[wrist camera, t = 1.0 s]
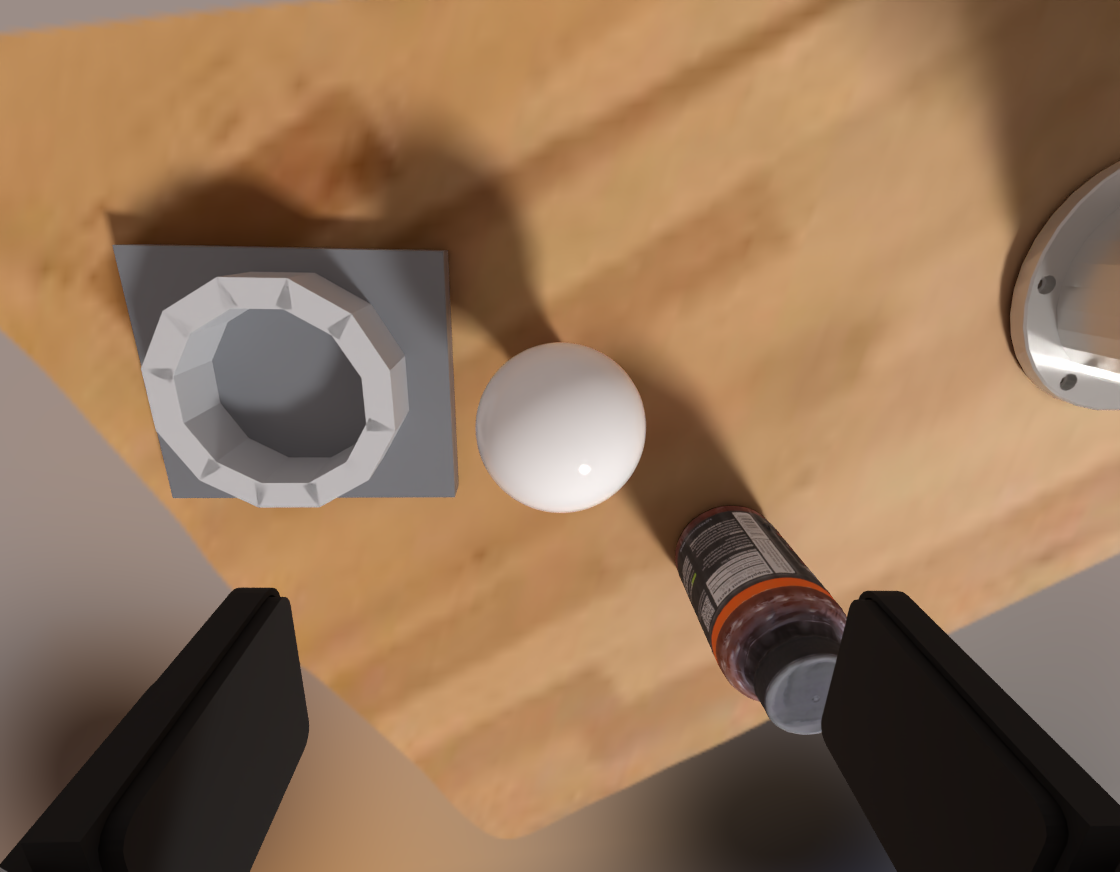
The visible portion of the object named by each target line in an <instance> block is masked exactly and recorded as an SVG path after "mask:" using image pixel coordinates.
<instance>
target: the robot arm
mask: <svg viewBox="0 0 1120 872" xmlns="http://www.w3.org/2000/svg"><path fill="white" fill-rule="evenodd" d="M1010 324H1011V339H1012V342H1013V346H1014V350H1015V354H1016V357H1017V359H1018V361H1019V363H1020V365H1021V367H1022V369H1023V370H1024V372H1025V374H1026V375H1027V376H1028V377H1029V378H1030V379H1031V381H1032V382H1033V383H1034V384H1035V385H1036V386H1037V387H1038V388H1039V389H1041V390H1042V391H1044V392H1046V393H1047V394H1049V395H1050V396H1052V397H1053V398H1056V399H1059V400H1062V401H1064V402H1067V403H1070V404H1073V405H1076V406H1080V407H1084V408H1089V409H1094V410H1120V161H1118V162H1116V163H1115V164H1113V165H1111V166H1110V167H1108V168H1106V169H1104V170H1103V171H1101V172H1099V173H1098V174H1096V175H1095V176H1094V177H1092V178H1091V179H1090V180H1089V181H1087V182H1086V183H1085V184H1084V185H1082V186H1081V187H1080V188H1079V189H1077V190H1076V191H1075V192H1074V193H1072V195H1071V196H1070V197H1069V198H1068V199H1067V200H1066V201H1065V202H1064V203H1063V204H1062V205H1061V206H1060V207H1059V208H1058V209H1057V210H1056V211H1055V213H1054V214H1053V215H1052V216H1051V217H1050V219H1049V220H1048V222H1047V223H1046V224H1045V226H1044V227H1043V229H1042V230H1041V231H1040V233H1039V234H1038V236H1037V237H1036V239H1035V240H1034V242H1033V244H1032V246H1031V248H1030V250H1029V252H1028V254H1027V256H1026V258H1025V260H1024V262H1023V264H1022V267H1021V270H1020V273H1019V276H1018V279H1017V282H1016V285H1015V288H1014V292H1013V298H1012V305H1011V311H1010ZM821 730H822V735H823V738H824V741H825V743H826V746H827V747H828V749H829V751H830V753H831V754H832V756H833V758H834V760H835V761H836V763H837V765H838V767H839V769H840V771H841V772H842V774H843V776H844V778H845V779H846V781H847V783H848V785H849V787H850V788H851V790H852V792H853V794H854V796H855V797H856V799H857V801H858V803H859V804H860V806H861V808H862V810H863V811H864V813H865V815H866V817H867V819H868V820H869V822H870V824H871V826H872V828H873V829H874V831H875V833H876V835H877V837H878V838H879V840H880V842H881V843H882V845H883V847H884V849H885V851H886V852H887V854H888V856H889V858H890V860H891V862H892V863H893V865H894V867H895V869H896V870H897V872H1120V805H1119V804H1118V803H1117V802H1116V801H1115V800H1114V799H1113V798H1112V797H1111V796H1110V795H1109V794H1108V793H1107V792H1106V791H1105V790H1104V789H1103V788H1102V787H1101V786H1100V785H1099V784H1098V783H1097V782H1096V781H1095V780H1094V779H1092V777H1091V776H1090V775H1089V774H1088V773H1087V772H1086V771H1085V770H1084V769H1083V768H1082V767H1081V766H1080V765H1079V764H1078V763H1076V761H1075V760H1074V759H1073V758H1071V757H1070V755H1068V754H1067V753H1066V752H1065V751H1064V750H1063V749H1062V748H1061V747H1060V746H1059V745H1058V744H1057V743H1056V742H1055V741H1054V740H1053V739H1052V738H1051V737H1050V736H1049V735H1048V734H1047V733H1046V732H1045V731H1044V730H1043V729H1042V728H1041V727H1040V726H1039V725H1038V724H1037V723H1036V722H1035V721H1034V720H1033V719H1032V718H1031V717H1030V716H1029V715H1028V714H1027V713H1026V712H1025V711H1024V710H1023V709H1022V708H1021V707H1020V706H1019V705H1018V704H1017V703H1016V702H1015V701H1014V700H1013V699H1012V698H1011V697H1010V696H1009V695H1008V694H1007V693H1006V692H1004V690H1003V689H1001V687H1000V686H999V685H998V684H997V683H996V682H995V681H994V680H993V679H992V678H991V677H990V676H989V675H987V673H986V672H985V671H984V670H982V668H981V667H980V666H978V665H977V664H976V663H975V662H974V661H973V660H972V659H971V658H970V657H969V656H968V655H967V654H966V653H965V652H964V651H963V650H962V649H961V648H960V647H959V646H958V645H957V644H956V643H955V642H954V641H953V640H952V639H951V638H950V637H949V636H948V635H947V634H946V633H945V632H944V631H943V630H942V629H941V628H940V627H939V626H938V625H937V624H936V623H935V622H934V621H933V620H932V619H931V618H930V617H929V616H928V615H927V614H926V613H925V612H924V611H923V610H922V609H921V608H920V607H919V606H918V605H917V604H916V603H915V602H914V601H913V600H912V599H911V598H910V597H909V596H908V595H906V594H905V593H903V592H900V591H866V592H863V593H862V594H861V595H860V597H859V600H854V601H853V602H852V603H851V605H850V608H849V612H848V616H847V620H846V624H845V628H844V631H843V635H842V639H841V643H840V647H839V651H838V655H837V659H836V663H835V667H834V671H833V675H832V679H831V683H830V687H829V691H828V695H827V699H826V703H825V707H824V711H823V715H822V719H821ZM308 733H309V720H308V713H307V707H306V701H305V694H304V688H303V681H302V675H301V669H300V662H299V656H298V650H297V643H296V637H295V630H294V624H293V618H292V611H291V605H290V601H289V600H288V598H286V597H280V595H279V592H278V591H277V589H275V588H236V589H234V590H233V591H232V592H231V593H230V594H229V595H228V596H227V598H226V599H225V600H224V601H223V602H222V604H221V605H220V606H219V607H218V608H217V610H216V611H215V612H214V613H213V614H212V615H211V617H210V618H209V619H208V620H207V621H206V623H205V624H204V625H203V626H202V628H201V629H200V630H199V631H198V632H197V633H196V634H195V636H194V637H193V638H192V639H191V641H190V642H189V643H188V644H187V645H186V646H185V648H184V649H183V650H182V651H181V652H180V653H179V655H178V656H177V657H176V658H175V659H174V661H173V662H172V663H171V664H170V665H169V667H168V668H167V669H166V670H165V671H164V673H163V674H162V675H161V676H160V677H159V678H158V680H157V681H156V682H155V683H154V684H153V685H152V686H150V688H149V689H148V690H147V691H146V692H145V693H144V694H143V696H142V697H141V698H140V699H139V700H138V702H137V703H136V704H135V705H134V706H133V708H132V709H131V710H130V711H129V712H128V713H127V715H126V716H125V717H124V718H123V719H122V721H121V722H120V723H119V724H118V725H117V726H116V728H115V729H114V730H113V731H112V733H111V734H110V735H109V736H108V737H107V738H106V739H105V741H104V742H103V743H102V744H101V745H100V747H99V748H98V749H97V750H96V751H95V752H94V754H93V755H92V756H91V757H90V758H89V760H88V761H87V762H86V763H85V764H84V766H83V767H82V768H81V769H80V770H79V771H78V773H77V774H76V775H75V776H74V777H73V779H72V780H71V781H70V782H69V783H68V784H67V786H66V787H65V788H64V789H63V790H62V792H61V793H60V794H59V795H58V796H57V797H56V799H55V800H54V801H53V802H52V804H51V805H50V806H49V807H48V808H47V809H46V811H45V812H44V813H43V814H42V815H41V817H40V818H39V819H38V820H37V821H36V822H35V824H34V825H33V826H32V827H31V828H30V829H29V831H28V832H27V833H26V834H25V836H24V837H23V838H22V839H21V840H20V841H19V843H18V844H17V845H16V846H15V847H14V849H13V850H12V851H11V852H10V853H9V854H8V856H7V857H6V858H5V859H4V860H3V861H2V863H1V864H0V872H250V870H251V868H252V865H253V863H254V861H255V859H256V856H257V854H258V852H259V849H260V847H261V845H262V843H263V841H264V838H265V836H266V834H267V832H268V830H269V827H270V825H271V823H272V821H273V818H274V816H275V814H276V812H277V809H278V807H279V805H280V803H281V800H282V798H283V796H284V793H285V791H286V789H287V787H288V784H289V783H290V780H291V778H292V776H293V774H294V771H295V769H296V766H297V764H298V762H299V760H300V758H301V756H302V753H303V751H304V748H305V746H306V743H307V739H308Z"/></svg>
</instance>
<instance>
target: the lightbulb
mask: <svg viewBox="0 0 1120 872" xmlns="http://www.w3.org/2000/svg"><path fill="white" fill-rule="evenodd" d="M645 438H646V417H645V411H644V406H643V403H642V400H641V397H640V394H639V392H638V390H637V388H636V386H635V384H634V383H633V381H632V380H631V378H630V377H629V375H628V374H627V373H626V372H625V371H624V370H623V369H622V367H621V366H619V365H618V364H617V363H616V362H615V361H614V360H612V359H611V358H610V357H608V356H607V355H605V354H603V353H601V352H600V351H598V350H595V349H593V348H590V347H588V346H584V345H580V344H575V343H568V342H554V343H546V344H541V345H537V346H534V347H531V348H529V349H526V350H524V351H522V352H520V353H519V354H517V355H515V356H514V357H512V358H511V359H509V360H508V361H507V362H506V363H505V364H503V365H502V366H501V367H500V368H499V369H498V370H497V372H496V373H495V374H494V375H493V377H492V378H491V379H490V381H489V382H488V384H487V386H486V388H485V390H484V392H483V394H482V396H481V399H480V402H479V406H478V410H477V415H476V439H477V445H478V449H479V453H480V456H481V459H482V461H483V463H484V465H485V467H486V469H487V471H488V473H489V474H490V476H491V477H492V479H493V480H494V481H495V482H496V484H497V485H498V486H499V487H500V488H501V489H502V490H503V491H504V492H506V493H507V494H508V495H509V496H511V497H512V498H513V499H515V500H517V501H518V502H520V503H522V504H524V505H526V506H529V507H531V508H534V509H537V510H541V511H546V512H553V513H569V512H576V511H581V510H585V509H588V508H591V507H593V506H596V505H598V504H600V503H602V502H604V501H605V500H607V499H608V498H610V497H611V496H613V495H614V494H615V493H616V492H617V491H619V490H620V489H621V488H622V487H623V486H624V484H625V483H626V482H627V481H628V480H629V478H630V477H631V475H632V474H633V472H634V471H635V469H636V467H637V465H638V463H639V460H640V458H641V455H642V452H643V449H644V444H645Z"/></svg>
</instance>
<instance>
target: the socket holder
mask: <svg viewBox="0 0 1120 872" xmlns="http://www.w3.org/2000/svg"><path fill="white" fill-rule="evenodd" d="M113 249H114V254H115V258H116V262H117V266H118V270H119V275H120V279H121V283H122V287H123V291H124V295H125V300H126V304H127V308H128V312H129V316H130V321H131V325H132V329H133V333H134V337H135V342H136V346H137V350H138V354H139V358H140V362H141V370H142V375H143V379H144V383H145V387H146V391H147V395H148V400H149V404H150V408H151V412H152V416H153V420H154V425H155V429H156V431H157V434H158V438H159V442H160V446H161V450H162V455H163V459H164V463H165V467H166V471H167V476H168V480H169V484H170V488H171V492H172V496H173V498H239V499H241V500H244V501H246V502H248V503H250V504H252V505H254V506H257V507H321V506H322V505H324V504H326V503H328V502H330V501H332V500H333V499H335V498H340V497H455V495H456V492H457V488H458V485H459V484H458V462H457V440H456V418H455V396H454V374H453V352H452V330H451V308H450V286H449V263H448V250H410V249H360V248H309V247H258V246H208V245H157V244H124V245H113Z"/></svg>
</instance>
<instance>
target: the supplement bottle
mask: <svg viewBox="0 0 1120 872" xmlns="http://www.w3.org/2000/svg"><path fill="white" fill-rule="evenodd" d="M675 556H676V557H675V559H676V566H677V570H678V572H679V576H680V578H681V581H682V583H683V585H684V587H685V590H686V592H687V594H688V597H689V599H690V601H691V604H692V606H693V608H694V610H695V613H696V615H697V617H698V620H699V622H700V624H701V627H702V629H703V631H704V633H705V636H706V638H707V640H708V643H709V645H710V647H711V649H712V652H713V654H714V656H715V658H716V661H717V663H718V665H719V667H720V669H721V671H722V672H723V674H724V675H725V677H726V679H727V680H728V681H729V683H730V684H731V685H732V686H733V687H734V688H735V689H737V690H738V691H739V692H741V693H742V694H743V695H745V696H747V697H748V698H751V699H753V700H756V701H760V702H761V704H762V706H763V707H764V709H765V711H766V713H767V715H768V717H769V718H770V719H771V721H772V722H773V723H774V724H775V725H776V726H778V727H780V728H781V729H783V730H785V731H787V732H791V733H795V734H804V735H808V734H818V733H821V732H822V730H821V719H822V715H823V711H824V707H825V703H826V699H827V695H828V691H829V687H830V683H831V679H832V675H833V671H834V667H835V663H836V659H837V655H838V651H839V647H840V643H841V639H842V635H843V631H844V628H845V624H846V620H847V617H846V614H845V613H844V612H843V610H842V608H841V607H840V606H839V605H838V603H837V602H836V601H835V600H834V599H833V597H832V596H831V595H830V593H829V592H828V591H827V590H826V589H825V588H824V586H823V585H822V584H821V583H820V582H819V580H818V579H817V578H816V577H815V575H814V574H813V573H812V572H811V571H810V570H809V569H808V567H807V566H806V565H805V564H804V563H803V561H802V560H801V559H800V558H799V557H798V555H797V554H796V553H795V552H794V551H793V549H792V548H791V547H790V546H789V544H788V543H787V542H786V541H785V540H784V539H783V537H782V536H781V535H780V534H779V532H778V531H777V530H776V529H775V528H774V527H773V526H772V524H771V523H769V522H768V521H767V520H766V519H765V518H764V517H763V516H762V515H760V514H759V513H757V512H756V511H754V510H752V509H749V508H746V507H741V506H721V507H717V508H713V509H711V510H709V511H706V512H704V513H702V514H700V515H699V516H698V517H696V518H695V519H693V520H692V521H691V522H690V523H689V524H688V525H687V527H686V528H685V529H684V530H683V532H682V534H681V536H680V538H679V540H678V543H677V547H676V554H675Z"/></svg>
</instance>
